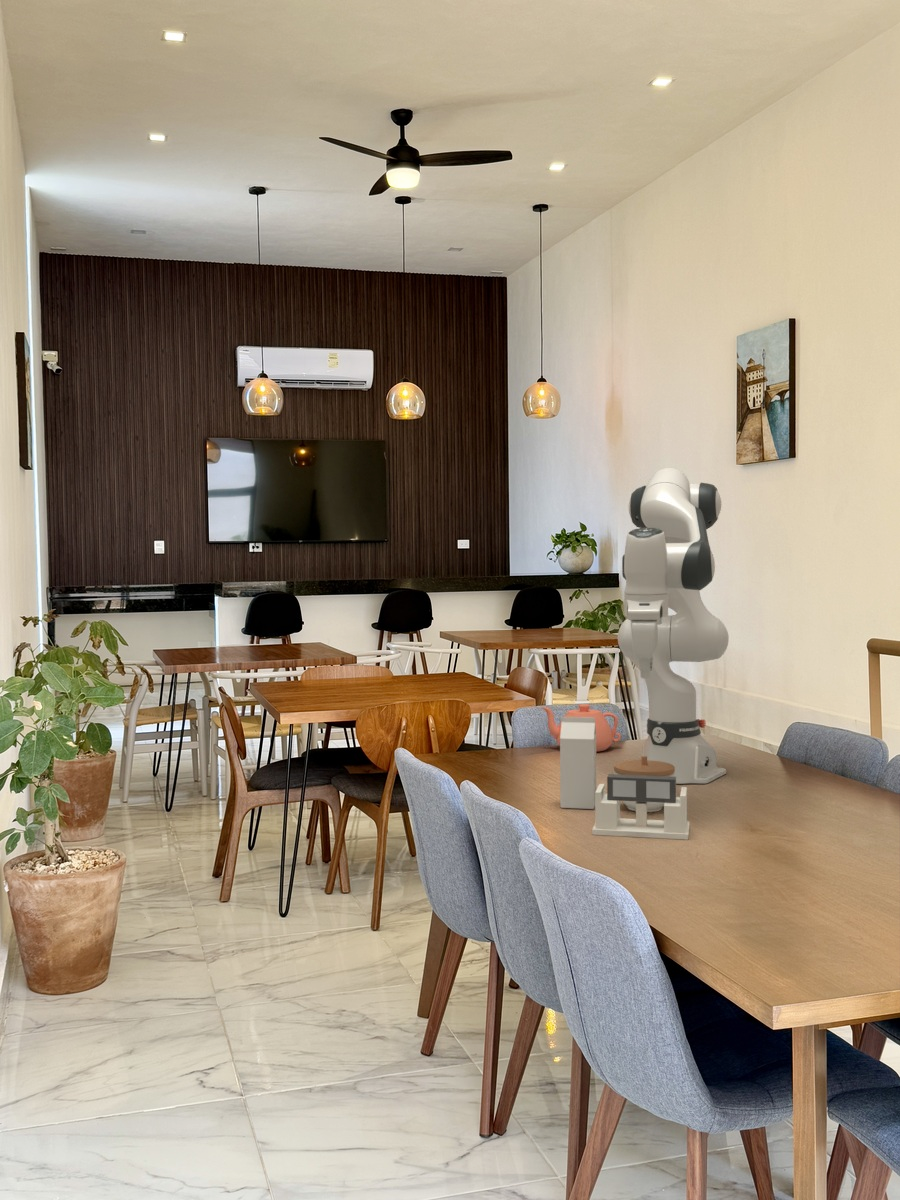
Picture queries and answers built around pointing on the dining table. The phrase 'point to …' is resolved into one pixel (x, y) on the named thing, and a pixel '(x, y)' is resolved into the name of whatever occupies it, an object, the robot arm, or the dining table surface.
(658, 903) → the dining table surface
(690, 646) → the robot arm
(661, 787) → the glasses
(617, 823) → the stand
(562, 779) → the milk carton
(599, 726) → the teapot
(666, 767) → the lidded bowl
